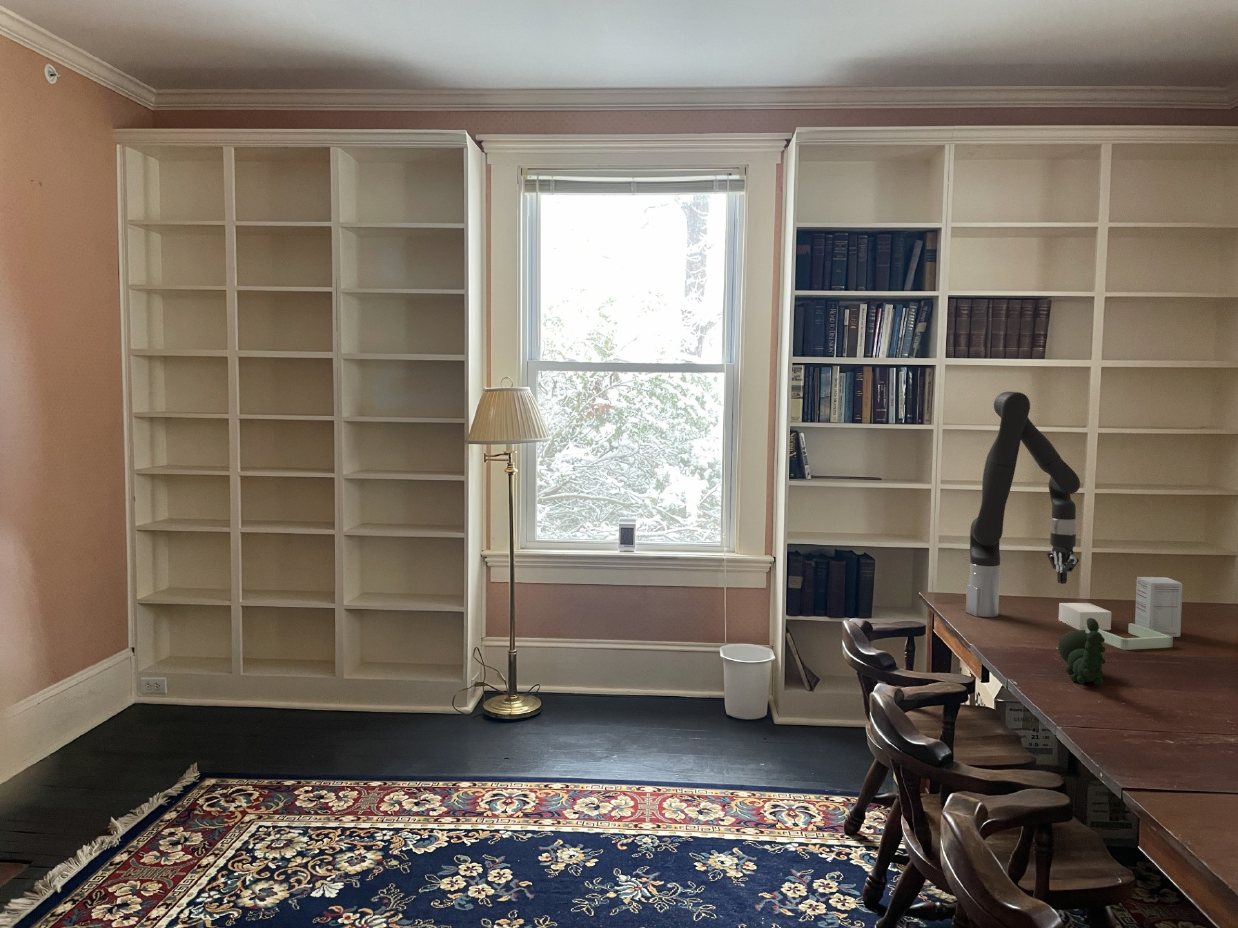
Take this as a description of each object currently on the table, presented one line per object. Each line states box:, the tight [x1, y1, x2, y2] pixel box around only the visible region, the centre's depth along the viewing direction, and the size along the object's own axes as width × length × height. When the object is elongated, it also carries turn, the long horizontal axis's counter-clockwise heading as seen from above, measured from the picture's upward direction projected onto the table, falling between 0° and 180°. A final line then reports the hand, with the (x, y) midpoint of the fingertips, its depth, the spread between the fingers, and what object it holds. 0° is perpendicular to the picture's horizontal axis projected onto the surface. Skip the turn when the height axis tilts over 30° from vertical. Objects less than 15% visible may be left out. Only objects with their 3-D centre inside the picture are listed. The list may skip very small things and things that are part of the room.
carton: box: [1058, 602, 1112, 631], centre depth 275 cm, size 10×12×6 cm
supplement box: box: [1134, 576, 1183, 638], centre depth 265 cm, size 10×9×17 cm
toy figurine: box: [1057, 618, 1107, 686], centre depth 222 cm, size 9×19×25 cm
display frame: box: [1084, 623, 1174, 651], centre depth 257 cm, size 16×16×3 cm
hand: (1062, 583), depth 285 cm, fingers closed
